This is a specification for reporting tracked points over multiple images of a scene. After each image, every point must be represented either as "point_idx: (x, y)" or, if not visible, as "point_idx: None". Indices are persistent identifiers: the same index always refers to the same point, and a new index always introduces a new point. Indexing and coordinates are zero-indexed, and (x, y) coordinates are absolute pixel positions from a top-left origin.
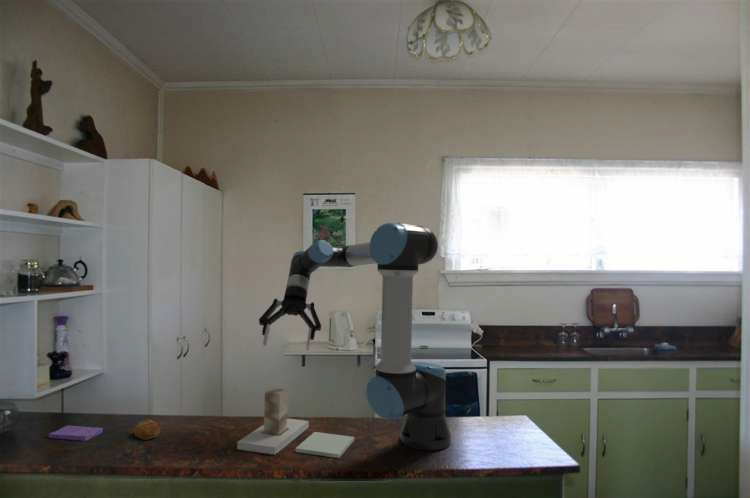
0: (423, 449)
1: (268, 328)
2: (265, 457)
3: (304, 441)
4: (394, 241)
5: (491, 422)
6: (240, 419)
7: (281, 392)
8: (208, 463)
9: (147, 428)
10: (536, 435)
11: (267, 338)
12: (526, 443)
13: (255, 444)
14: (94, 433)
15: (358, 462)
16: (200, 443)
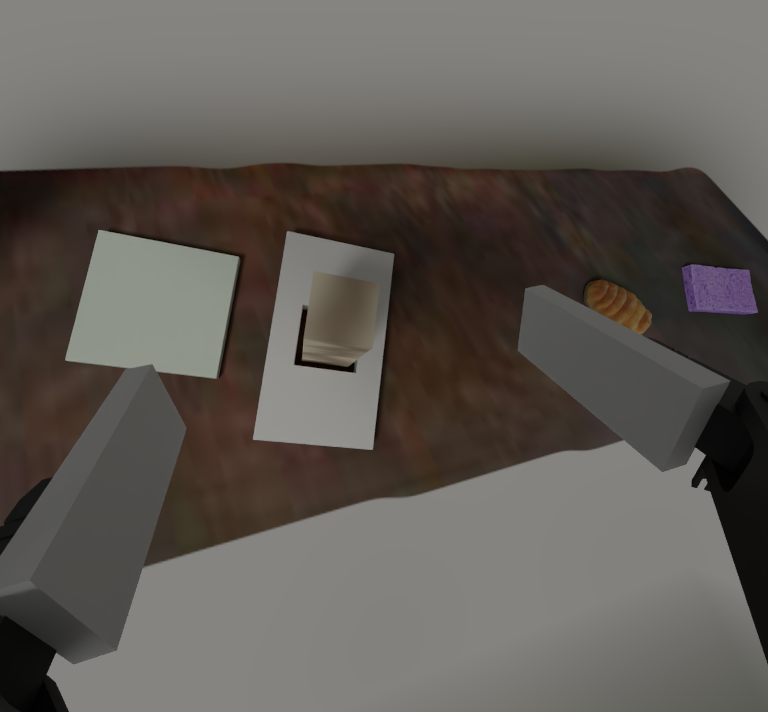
0: None
1: (640, 354)
2: (305, 224)
3: (227, 303)
4: None
5: None
6: (475, 452)
7: (314, 293)
8: (412, 188)
9: (616, 292)
10: None
11: (559, 369)
12: None
13: (344, 243)
14: (690, 287)
15: (37, 214)
16: (482, 281)
